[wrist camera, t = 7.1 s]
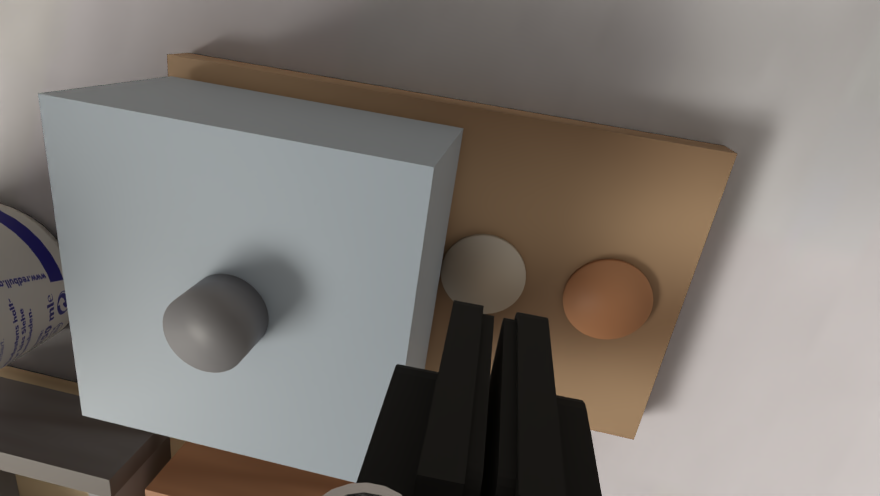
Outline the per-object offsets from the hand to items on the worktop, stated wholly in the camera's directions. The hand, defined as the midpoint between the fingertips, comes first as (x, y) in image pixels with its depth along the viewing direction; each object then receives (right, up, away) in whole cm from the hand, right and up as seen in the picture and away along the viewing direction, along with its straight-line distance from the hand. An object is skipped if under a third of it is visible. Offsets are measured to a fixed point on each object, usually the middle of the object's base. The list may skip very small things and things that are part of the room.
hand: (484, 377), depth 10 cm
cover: (-5, +3, +6) cm, 8 cm away
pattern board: (-1, +2, +7) cm, 7 cm away
